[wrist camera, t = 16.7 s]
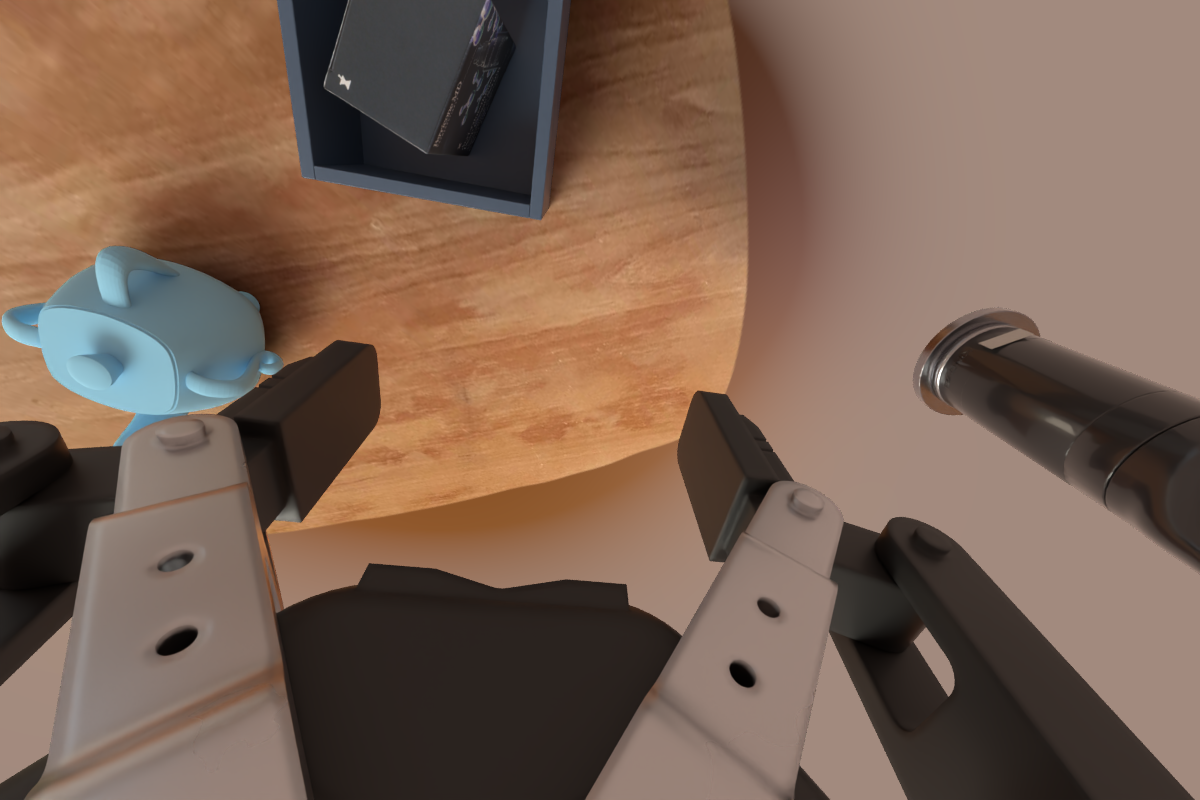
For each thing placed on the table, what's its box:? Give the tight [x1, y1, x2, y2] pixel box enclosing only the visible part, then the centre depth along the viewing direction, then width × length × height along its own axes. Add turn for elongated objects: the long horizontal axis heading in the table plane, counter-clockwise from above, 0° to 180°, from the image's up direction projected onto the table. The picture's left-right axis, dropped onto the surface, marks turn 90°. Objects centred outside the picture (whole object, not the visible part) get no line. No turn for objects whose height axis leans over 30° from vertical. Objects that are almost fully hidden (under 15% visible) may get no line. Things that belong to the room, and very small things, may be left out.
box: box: [324, 0, 516, 156], centre depth 25 cm, size 8×6×11 cm
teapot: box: [2, 246, 284, 446], centre depth 34 cm, size 13×14×11 cm
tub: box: [277, 0, 571, 220], centre depth 27 cm, size 15×15×8 cm
